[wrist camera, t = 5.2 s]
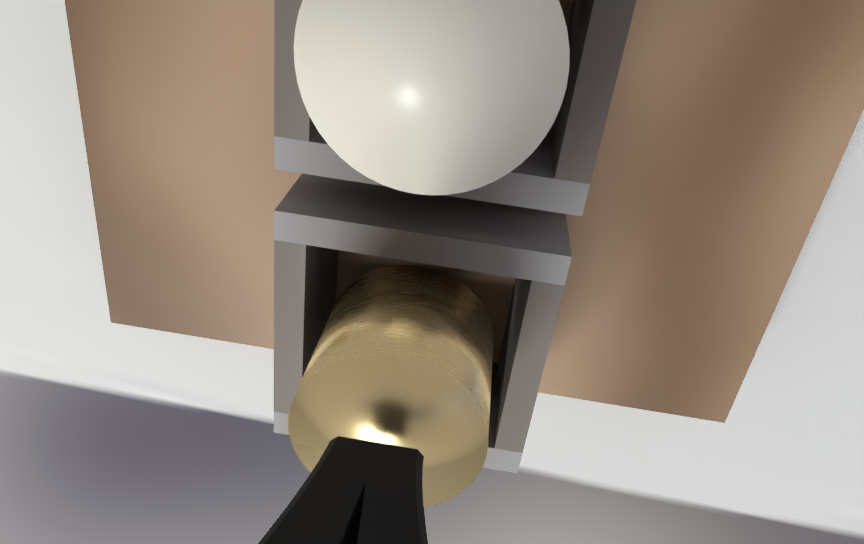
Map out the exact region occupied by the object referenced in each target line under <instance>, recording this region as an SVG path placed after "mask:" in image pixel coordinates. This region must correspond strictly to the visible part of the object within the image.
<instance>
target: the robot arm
mask: <svg viewBox="0 0 864 544" xmlns="http://www.w3.org/2000/svg"><path fill="white" fill-rule="evenodd" d="M423 460H424V456H423V455H422V454H421V452H420V451H419V450H418V449H413V448H407V447H401V446H395V445H389V444H383V443H377V442H371V441H365V440H359V439H353V438H347V437H341V436H338V437H336V438H334V439H332V440H331V441H330V442H329V444H328V446H327V448H326V450H325V451H324V453H323V455H322V456H321V458H320V460H319V461H318V463H317V464H316V466H315V468H314V469H313V471H312V472H311V474H310V475H309V477H308V478H307V480H306V481H305V482H304V484H303V485H302V487H301V488H300V490H299V491H298V492H297V494H296V495H295V497H294V498H293V499H292V501H291V502H290V504H289V505H288V506H287V508H286V509H285V510H284V512H283V513H282V514H281V515H280V517H279V518H278V519H277V521H276V522H275V523H274V524H273V526H272V527H271V528H270V529H269V531H268V532H267V533H266V535H265V536H264V537H263V538H262V540H261V541H260V542H259V544H428V541H427V534H426V526H425V516H424V506H423V488H422V474H423Z"/></svg>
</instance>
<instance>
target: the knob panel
mask: <svg viewBox="0 0 864 544" xmlns="http://www.w3.org/2000/svg"><path fill="white" fill-rule="evenodd" d="M302 1H303V0H65V6H66V12H67V19H68V26H69V33H70V40H71V47H72V54H73V61H74V68H75V75H76V82H77V89H78V96H79V103H80V110H81V117H82V124H83V131H84V138H85V145H86V152H87V159H88V166H89V172H90V179H91V186H92V193H93V200H94V207H95V214H96V221H97V228H98V235H99V242H100V249H101V256H102V263H103V270H104V277H105V284H106V291H107V298H108V305H109V312H110V319H111V322H112V323H118V324H124V325H131V326H137V327H143V328H149V329H155V330H161V331H167V332H173V333H180V334H186V335H192V336H198V337H204V338H210V339H216V340H222V341H228V342H235V343H241V344H247V345H253V346H259V347H265V348H271V349H274V432H276V433H282V434H287V435H289V431H288V416H289V410H290V407H291V403H292V401H293V398H294V396H295V394H296V392H297V389H298V387H299V385H300V382H301V380H302V378H303V376H304V373H305V371H306V369H307V366H308V364H309V362H310V360H311V357H312V355H313V353H314V351H315V348H316V346H317V344H318V341H319V339H320V337H321V335H322V332H323V330H324V328H325V325H326V323H327V321H328V319H329V316H330V314H331V312H332V309H333V307H334V305H335V303H336V301H337V299H338V297H339V296H340V294H341V293H342V292H343V290H344V289H345V288H346V287H347V286H348V285H349V284H350V283H351V282H353V281H354V280H355V279H357V278H358V277H360V276H362V275H363V274H365V273H367V272H370V271H372V270H374V269H377V268H381V267H385V266H391V265H419V266H424V267H429V268H432V269H435V270H438V271H441V272H444V273H446V274H448V275H450V276H452V277H454V278H455V279H457V280H458V281H460V282H462V283H463V284H464V285H465V286H467V287H468V288H469V289H470V290H471V291H472V292H473V293H474V294H475V295H476V296H477V297H478V298H479V300H480V301H481V303H482V304H483V305H484V307H485V309H486V311H487V313H488V315H489V318H490V320H491V323H492V328H493V337H494V344H493V362H492V381H491V399H490V417H489V436H488V449H487V456H486V459H485V462H484V465H483V467H484V468H490V469H496V470H502V471H507V472H514V473H517V472H518V468H519V464H520V460H521V456H522V452H523V448H524V444H525V441H526V437H527V433H528V429H529V425H530V421H531V417H532V413H533V409H534V405H535V401H536V397H537V393H538V392H540V393H546V394H553V395H559V396H565V397H571V398H577V399H583V400H589V401H595V402H601V403H608V404H614V405H620V406H626V407H632V408H638V409H644V410H650V411H656V412H663V413H669V414H675V415H681V416H687V417H693V418H699V419H705V420H711V421H718V422H724V423H725V420H726V418H727V416H728V414H729V411H730V409H731V407H732V405H733V402H734V400H735V398H736V396H737V393H738V391H739V389H740V387H741V384H742V382H743V380H744V378H745V375H746V373H747V371H748V369H749V366H750V364H751V362H752V359H753V357H754V355H755V353H756V350H757V348H758V346H759V344H760V341H761V339H762V337H763V335H764V332H765V330H766V328H767V326H768V323H769V321H770V319H771V317H772V314H773V312H774V310H775V308H776V305H777V303H778V301H779V298H780V296H781V294H782V292H783V289H784V287H785V285H786V283H787V280H788V278H789V276H790V274H791V271H792V269H793V267H794V265H795V262H796V260H797V258H798V256H799V253H800V251H801V249H802V247H803V244H804V242H805V240H806V238H807V235H808V233H809V231H810V228H811V226H812V224H813V222H814V219H815V217H816V215H817V213H818V210H819V208H820V206H821V204H822V201H823V199H824V197H825V195H826V192H827V190H828V188H829V186H830V183H831V181H832V179H833V177H834V174H835V172H836V170H837V168H838V165H839V163H840V161H841V158H842V156H843V154H844V152H845V149H846V147H847V145H848V143H849V140H850V138H851V136H852V134H853V131H854V129H855V127H856V125H857V122H858V120H859V118H860V116H861V113H862V111H863V109H864V0H559V3H560V6H561V8H562V11H563V15H564V19H565V23H566V27H567V31H568V40H569V49H570V56H569V74H568V81H567V87H566V91H565V95H564V98H563V102H562V105H561V107H560V110H559V112H558V114H557V117H556V119H555V121H554V123H553V125H552V127H551V128H550V130H549V132H548V133H547V135H546V137H545V138H544V139H543V141H542V142H541V143H540V144H539V146H538V147H537V148H536V150H535V151H534V152H533V153H532V154H531V155H530V156H529V157H528V158H527V159H526V160H525V161H524V162H523V163H521V164H520V165H519V166H518V167H516V168H515V169H514V170H512V171H511V172H510V173H508V174H507V175H505V176H503V177H501V178H500V179H498V180H496V181H494V182H492V183H490V184H487V185H485V186H483V187H480V188H477V189H474V190H470V191H467V192H463V193H457V194H450V195H421V194H413V193H408V192H403V191H399V190H396V189H393V188H390V187H387V186H384V185H382V184H380V183H378V182H376V181H374V180H372V179H369V178H368V177H366V176H364V175H363V174H361V173H360V172H358V171H357V170H355V169H354V168H352V167H351V166H350V165H349V164H348V163H346V162H345V161H344V160H343V159H341V158H340V157H339V156H338V155H337V154H336V152H335V151H334V150H333V149H332V148H331V147H330V146H329V145H328V144H327V142H326V141H325V140H324V138H323V137H322V136H321V134H320V133H319V132H318V130H317V128H316V127H315V125H314V123H313V122H312V120H311V118H310V116H309V114H308V112H307V109H306V107H305V105H304V103H303V100H302V97H301V93H300V90H299V87H298V83H297V78H296V72H295V66H294V36H295V27H296V22H297V17H298V13H299V9H300V6H301V3H302Z"/></svg>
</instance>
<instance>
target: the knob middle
mask: <svg viewBox="0 0 864 544" xmlns="http://www.w3.org/2000/svg"><path fill="white" fill-rule="evenodd" d="M569 56H570V49H569V40H568V31H567V27H566V23H565V19H564V15H563V11H562V8H561V6H560V3H559V0H303V1H302V3H301V6H300V9H299V13H298V17H297V22H296V27H295V36H294V66H295V72H296V78H297V83H298V87H299V90H300V93H301V97H302V100H303V103H304V105H305V107H306V109H307V112H308V114H309V116H310V118H311V120H312V122H313V123H314V125H315V127H316V128H317V130H318V132H319V133H320V134H321V136H322V137H323V138H324V140H325V141H326V142H327V144H328V145H329V146H330V147H331V148H332V149H333V150H334V151H335V152H336V154H337V155H338V156H339V157H340V158H341V159H343V160H344V161H345V162H346V163H348V164H349V165H350V166H351V167H352V168H354V169H355V170H357V171H358V172H360V173H361V174H363V175H364V176H366V177H368V178H369V179H372V180H374V181H376V182H378V183H380V184H382V185H384V186H387V187H390V188H393V189H396V190H399V191H403V192H408V193H413V194H421V195H450V194H457V193H463V192H467V191H470V190H474V189H477V188H480V187H483V186H485V185H487V184H490V183H492V182H494V181H496V180H498V179H500V178H501V177H503V176H505V175H507V174H508V173H510V172H511V171H512V170H514V169H515V168H516V167H518V166H519V165H520V164H521V163H523V162H524V161H525V160H526V159H527V158H528V157H529V156H530V155H531V154H532V153H533V152H534V151H535V150H536V148H537V147H538V146H539V144H540V143H541V142H542V141H543V139H544V138H545V137H546V135H547V133H548V132H549V130H550V128H551V127H552V125H553V123H554V121H555V119H556V117H557V114H558V112H559V110H560V107H561V105H562V102H563V98H564V95H565V91H566V87H567V81H568V74H569Z"/></svg>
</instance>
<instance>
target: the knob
mask: <svg viewBox="0 0 864 544" xmlns="http://www.w3.org/2000/svg"><path fill="white" fill-rule="evenodd" d="M493 344H494V337H493V328H492V323H491V320H490V318H489V315H488V313H487V311H486V309H485V307H484V305H483V304H482V303H481V301H480V300H479V298H478V297H477V296H476V295H475V294H474V293H473V292H472V291H471V290H470V289H469V288H468V287H467V286H465V285H464V284H463V283H462V282H460V281H458V280H457V279H455V278H454V277H452V276H450V275H448V274H446V273H444V272H441V271H438V270H435V269H432V268H429V267H424V266H419V265H391V266H385V267H381V268H377V269H374V270H372V271H370V272H367V273H365V274H363V275H362V276H360V277H358V278H357V279H355V280H354V281H353V282H351V283H350V284H349V285H348V286H347V287H346V288H345V289H344V290H343V292H342V293H341V294H340V296H339V297H338V299H337V301H336V303H335V305H334V307H333V309H332V312H331V314H330V316H329V319H328V321H327V323H326V325H325V328H324V330H323V332H322V335H321V337H320V339H319V341H318V344H317V346H316V348H315V351H314V353H313V355H312V357H311V360H310V362H309V364H308V366H307V369H306V371H305V373H304V376H303V378H302V380H301V382H300V385H299V387H298V389H297V392H296V394H295V396H294V398H293V401H292V403H291V407H290V410H289V416H288V431H289V436H290V440H291V443H292V445H293V448H294V450H295V452H296V454H297V456H298V458H299V459H300V461H301V462H302V464H303V465H304V466H305V467H306V469H307V470H308V471H309V472H310V473H311V472H312V471H313V469H314V468H315V466H316V464H317V463H318V461H319V460H320V458H321V456H322V455H323V453H324V451H325V450H326V448H327V446H328V444H329V442H330V441H331V440H332V439H334V438H336V437H338V436H341V437H347V438H353V439H359V440H365V441H371V442H377V443H383V444H389V445H395V446H401V447H407V448H413V449H418V450H419V451H420V452H421V454H422V455H423V456H424V460H423V474H422V488H423V506H424V507H429V506H432V505H436V504H439V503H442V502H444V501H447V500H449V499H450V498H452V497H454V496H456V495H458V494H459V493H461V491H463V490H465V489H466V488H467V487H468V486H469V485H470V484H471V483H472V482H473V481H474V480H475V478H476V477H477V476H478V474H479V473H480V471H481V469H482V467H483V465H484V462H485V459H486V456H487V449H488V436H489V417H490V399H491V381H492V362H493Z"/></svg>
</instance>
